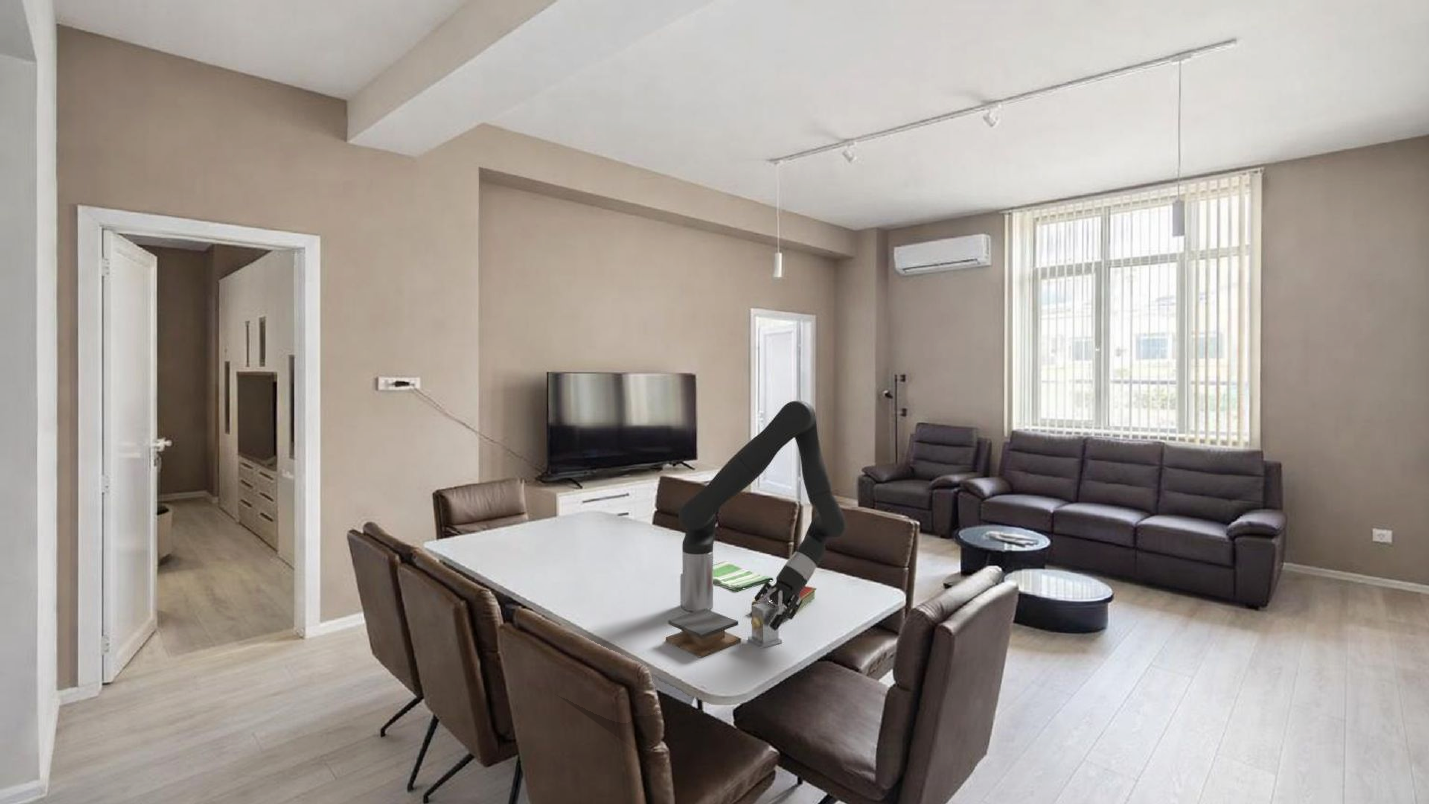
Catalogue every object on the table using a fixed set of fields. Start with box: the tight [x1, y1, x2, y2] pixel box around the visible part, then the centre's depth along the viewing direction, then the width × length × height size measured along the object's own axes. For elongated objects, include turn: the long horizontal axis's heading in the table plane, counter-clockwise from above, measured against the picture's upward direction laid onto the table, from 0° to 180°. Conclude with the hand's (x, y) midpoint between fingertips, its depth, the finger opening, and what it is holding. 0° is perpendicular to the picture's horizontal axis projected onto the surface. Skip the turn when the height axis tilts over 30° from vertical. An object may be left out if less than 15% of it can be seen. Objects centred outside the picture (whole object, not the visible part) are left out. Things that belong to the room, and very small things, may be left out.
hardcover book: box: [751, 585, 817, 621], centre depth 200 cm, size 12×21×4 cm, turn 150°
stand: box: [665, 608, 742, 658], centre depth 174 cm, size 14×14×6 cm
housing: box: [747, 602, 783, 649], centre depth 174 cm, size 6×7×9 cm
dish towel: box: [713, 560, 774, 592], centre depth 227 cm, size 18×23×3 cm
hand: (762, 623), depth 173 cm, fingers open, 8 cm apart
